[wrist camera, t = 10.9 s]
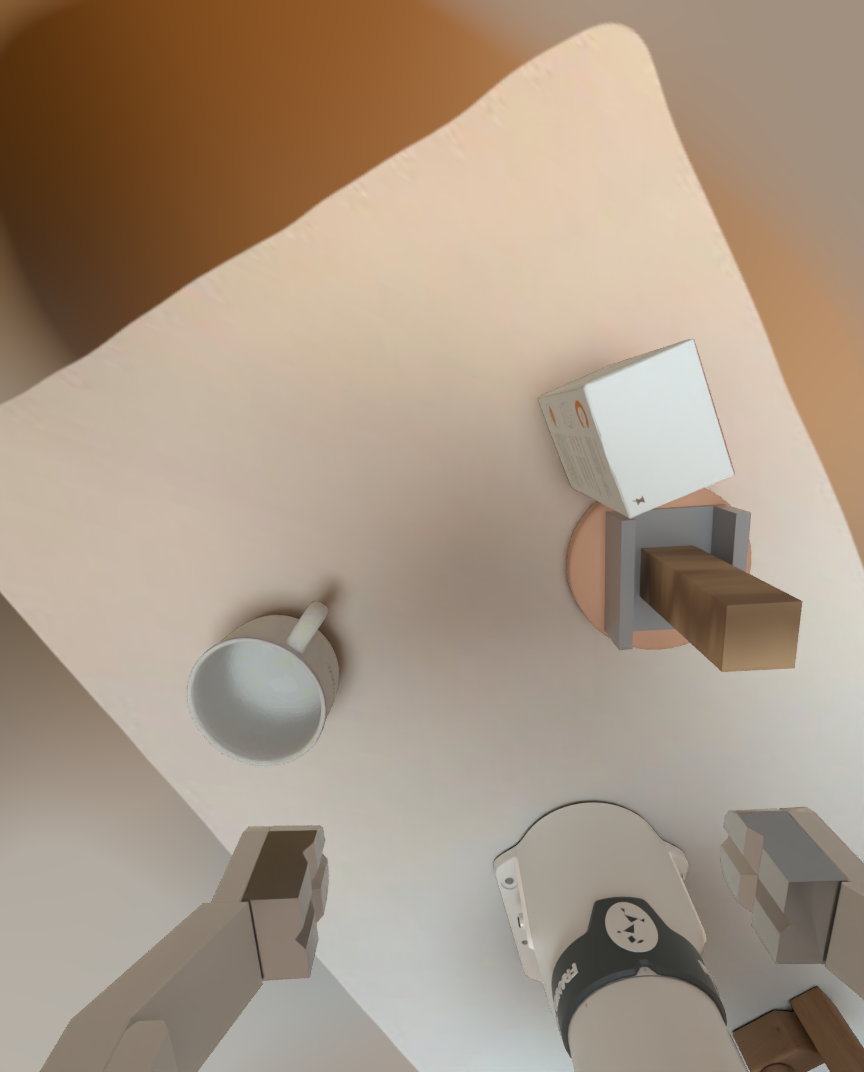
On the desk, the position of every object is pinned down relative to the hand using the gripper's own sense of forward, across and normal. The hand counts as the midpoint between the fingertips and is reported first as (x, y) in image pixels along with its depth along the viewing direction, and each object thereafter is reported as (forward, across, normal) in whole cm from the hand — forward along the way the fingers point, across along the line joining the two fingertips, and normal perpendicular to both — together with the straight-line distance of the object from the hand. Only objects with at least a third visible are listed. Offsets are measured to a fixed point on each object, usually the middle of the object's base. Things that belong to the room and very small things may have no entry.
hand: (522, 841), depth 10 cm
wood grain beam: (+29, -16, +5) cm, 34 cm away
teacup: (+33, +15, +11) cm, 38 cm away
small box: (+32, -11, -7) cm, 35 cm away
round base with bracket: (+32, -16, +5) cm, 36 cm away
